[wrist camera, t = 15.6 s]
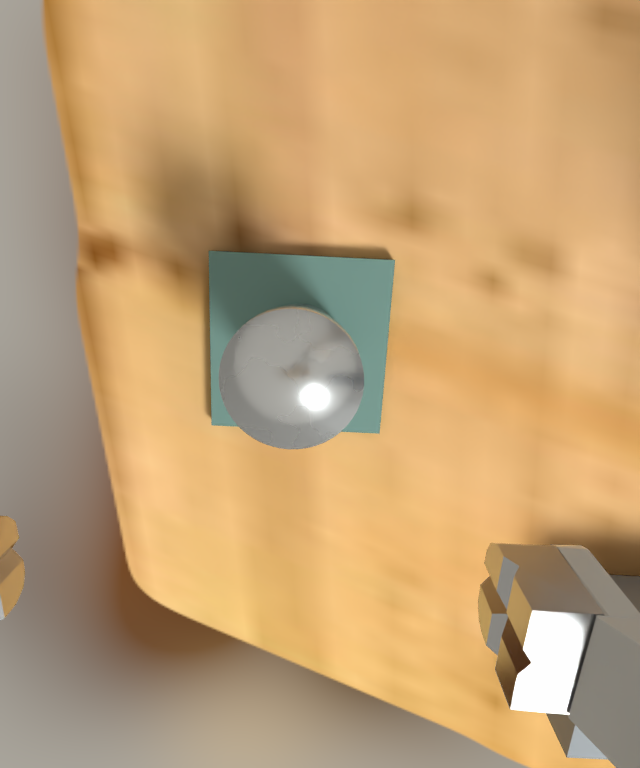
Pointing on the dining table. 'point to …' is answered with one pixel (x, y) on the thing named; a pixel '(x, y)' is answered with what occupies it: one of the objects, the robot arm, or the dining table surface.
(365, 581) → the dining table surface
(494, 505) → the dining table surface
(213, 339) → the mat
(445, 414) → the dining table surface
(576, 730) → the housing
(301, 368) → the end cover
